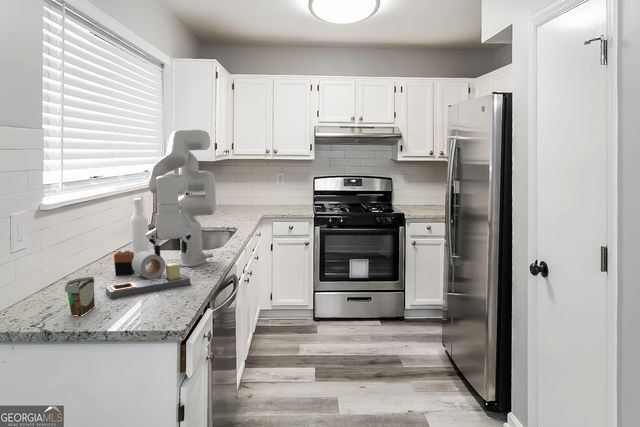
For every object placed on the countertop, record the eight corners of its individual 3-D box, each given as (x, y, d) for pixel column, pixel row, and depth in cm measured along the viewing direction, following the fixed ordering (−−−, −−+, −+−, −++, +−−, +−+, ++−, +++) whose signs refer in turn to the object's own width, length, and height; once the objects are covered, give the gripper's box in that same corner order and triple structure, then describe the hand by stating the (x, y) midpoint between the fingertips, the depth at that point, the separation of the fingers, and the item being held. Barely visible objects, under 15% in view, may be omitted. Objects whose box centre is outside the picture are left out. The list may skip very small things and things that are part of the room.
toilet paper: (166, 276, 189) (164, 252, 188) (141, 281, 183) (139, 256, 182) (156, 272, 197) (154, 249, 196) (132, 276, 190) (130, 253, 189)
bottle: (150, 258, 225) (145, 197, 221) (151, 261, 218) (146, 198, 214) (132, 260, 222) (127, 198, 218) (133, 263, 215) (128, 199, 211)
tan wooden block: (177, 282, 178) (176, 262, 177) (180, 285, 175) (179, 264, 174) (166, 284, 176) (165, 264, 175) (170, 287, 173) (168, 266, 172)
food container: (77, 306, 152) (74, 277, 151) (96, 305, 152) (94, 276, 151) (59, 319, 140) (56, 287, 138) (80, 318, 140) (77, 286, 139)
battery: (131, 275, 193) (129, 251, 192) (115, 275, 193) (113, 252, 192) (135, 272, 197) (133, 249, 196) (119, 273, 197) (117, 250, 196)
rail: (182, 280, 182) (182, 273, 182) (190, 284, 175) (190, 277, 174) (106, 293, 166) (105, 285, 166) (111, 299, 159) (110, 291, 159)
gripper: (188, 206, 180) (190, 250, 182) (142, 210, 170) (144, 255, 172) (194, 207, 174) (197, 252, 175) (147, 211, 164) (150, 258, 166)
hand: (171, 254), depth 174 cm, fingers open, 9 cm apart
